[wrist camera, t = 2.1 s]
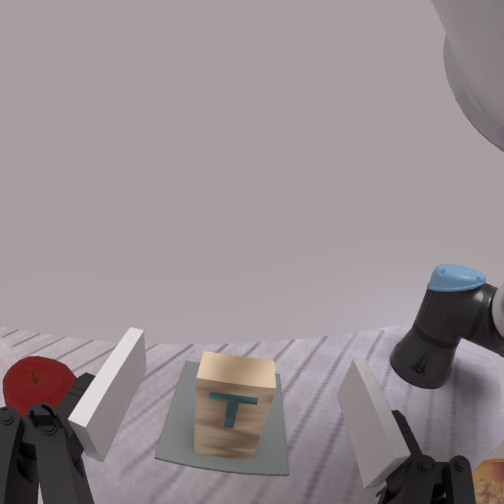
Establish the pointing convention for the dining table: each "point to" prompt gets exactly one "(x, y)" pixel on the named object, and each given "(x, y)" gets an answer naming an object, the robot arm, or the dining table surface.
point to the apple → (36, 383)
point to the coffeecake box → (490, 478)
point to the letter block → (232, 404)
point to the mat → (182, 452)
